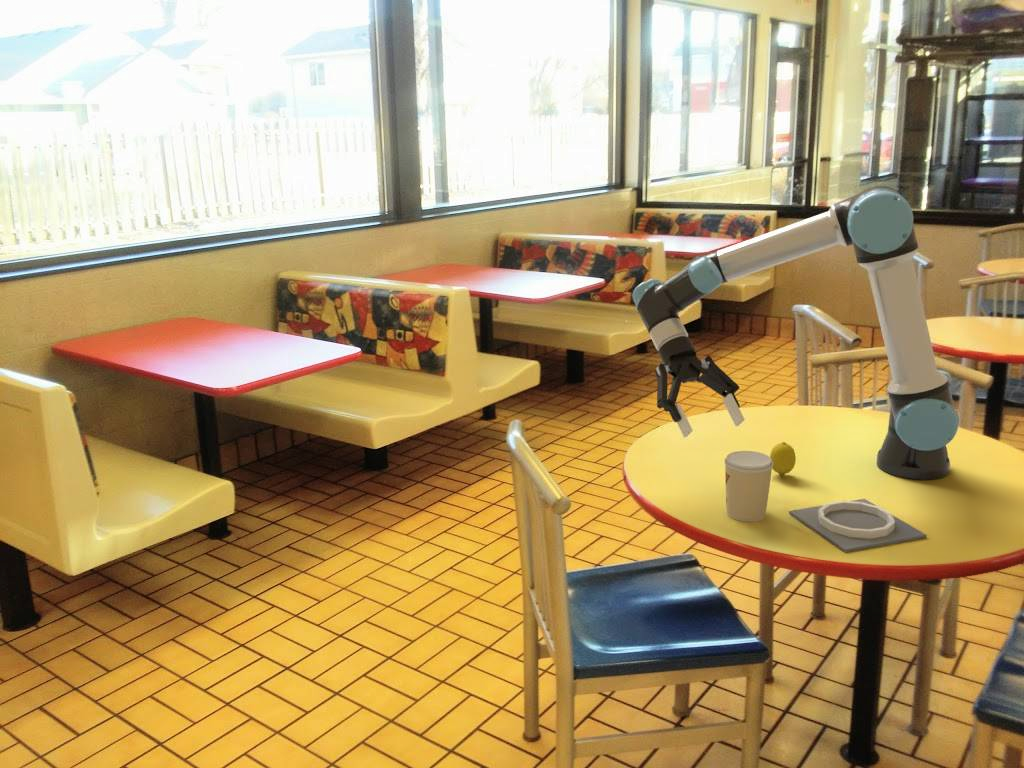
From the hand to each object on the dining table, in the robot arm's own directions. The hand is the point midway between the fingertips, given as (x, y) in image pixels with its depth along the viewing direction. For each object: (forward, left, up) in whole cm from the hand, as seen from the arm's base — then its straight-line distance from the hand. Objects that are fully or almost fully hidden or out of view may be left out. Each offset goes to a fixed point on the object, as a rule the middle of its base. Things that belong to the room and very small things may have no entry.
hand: (714, 428), depth 186 cm
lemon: (-20, -5, -15) cm, 26 cm away
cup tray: (-19, +22, -15) cm, 33 cm away
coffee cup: (-2, +10, -15) cm, 19 cm away
